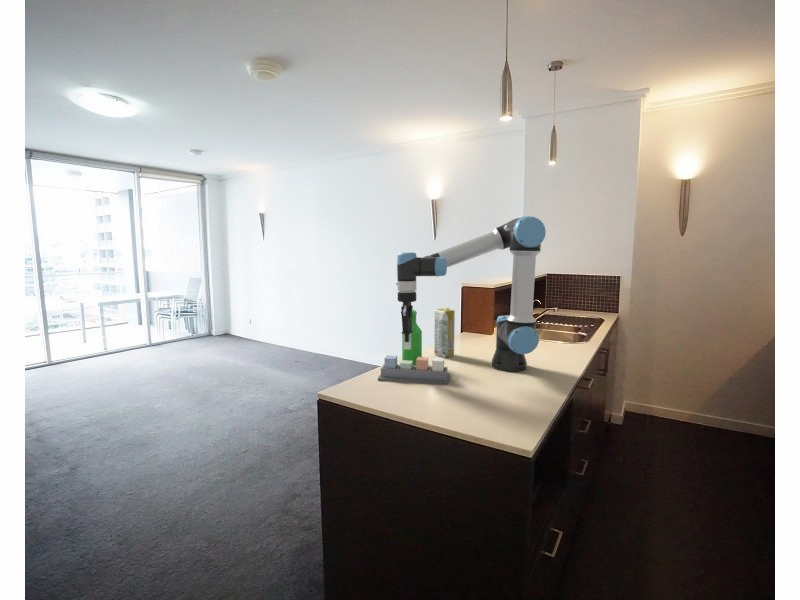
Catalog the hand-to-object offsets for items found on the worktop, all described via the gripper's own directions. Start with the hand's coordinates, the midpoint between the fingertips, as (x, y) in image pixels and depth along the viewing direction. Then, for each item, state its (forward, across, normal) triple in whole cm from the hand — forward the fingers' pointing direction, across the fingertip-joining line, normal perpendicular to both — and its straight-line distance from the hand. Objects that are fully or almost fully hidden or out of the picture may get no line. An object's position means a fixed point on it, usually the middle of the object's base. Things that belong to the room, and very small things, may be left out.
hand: (407, 348), depth 165 cm
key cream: (+9, 0, +13) cm, 15 cm away
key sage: (+11, 0, 0) cm, 11 cm away
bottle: (+12, -18, -1) cm, 22 cm away
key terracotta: (+9, 0, +6) cm, 11 cm away
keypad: (+12, 0, +3) cm, 13 cm away
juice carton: (+13, -36, +12) cm, 40 cm away
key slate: (+9, 0, -7) cm, 11 cm away
